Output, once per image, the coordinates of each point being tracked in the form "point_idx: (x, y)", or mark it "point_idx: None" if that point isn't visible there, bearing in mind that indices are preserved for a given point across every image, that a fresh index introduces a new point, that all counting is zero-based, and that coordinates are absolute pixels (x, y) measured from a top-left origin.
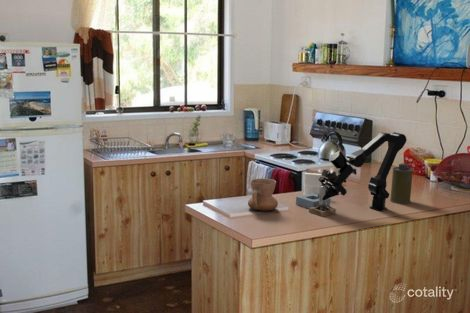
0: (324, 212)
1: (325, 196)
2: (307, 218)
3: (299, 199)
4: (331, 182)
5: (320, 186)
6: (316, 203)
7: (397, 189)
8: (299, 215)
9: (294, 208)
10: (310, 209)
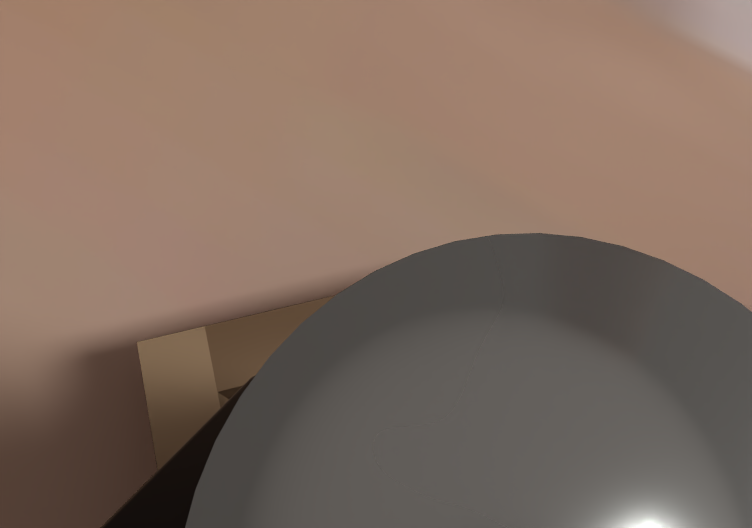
0: (146, 390)
1: (184, 468)
2: (163, 56)
3: None
4: None
5: (586, 284)
6: None
7: None
8: (354, 33)
9: (745, 164)
10: None
